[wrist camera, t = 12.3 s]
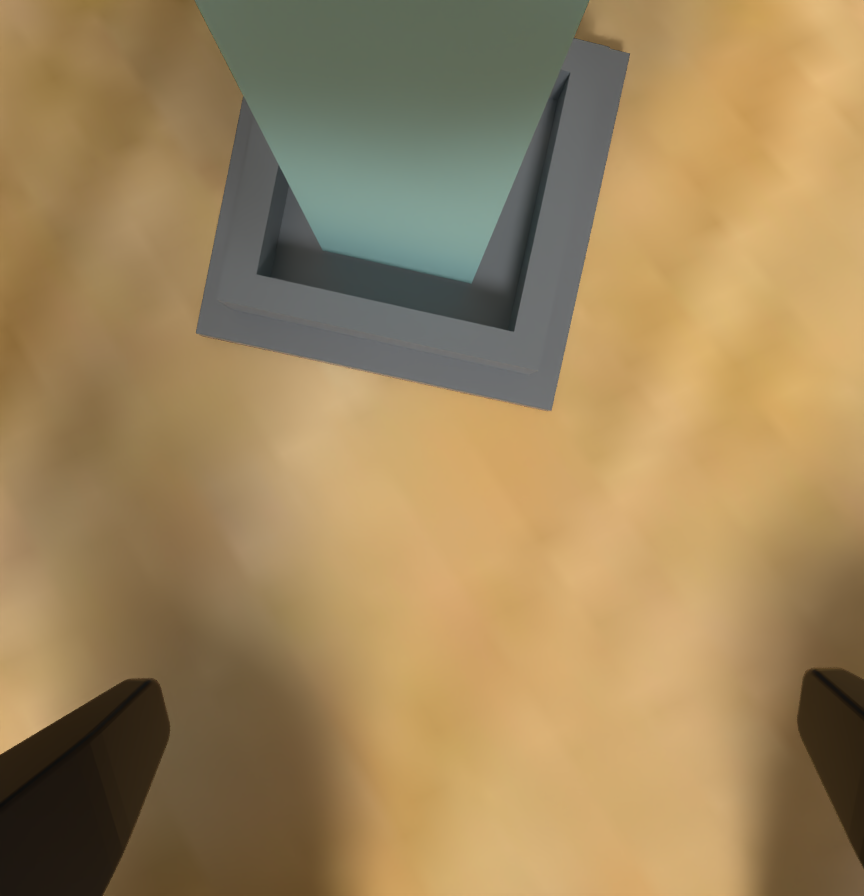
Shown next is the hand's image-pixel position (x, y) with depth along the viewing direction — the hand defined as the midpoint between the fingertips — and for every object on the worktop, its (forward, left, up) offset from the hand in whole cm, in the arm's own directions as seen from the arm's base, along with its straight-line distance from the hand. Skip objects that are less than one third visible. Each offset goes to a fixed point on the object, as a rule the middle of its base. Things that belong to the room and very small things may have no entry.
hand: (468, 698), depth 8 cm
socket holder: (+1, +11, -12) cm, 17 cm away
